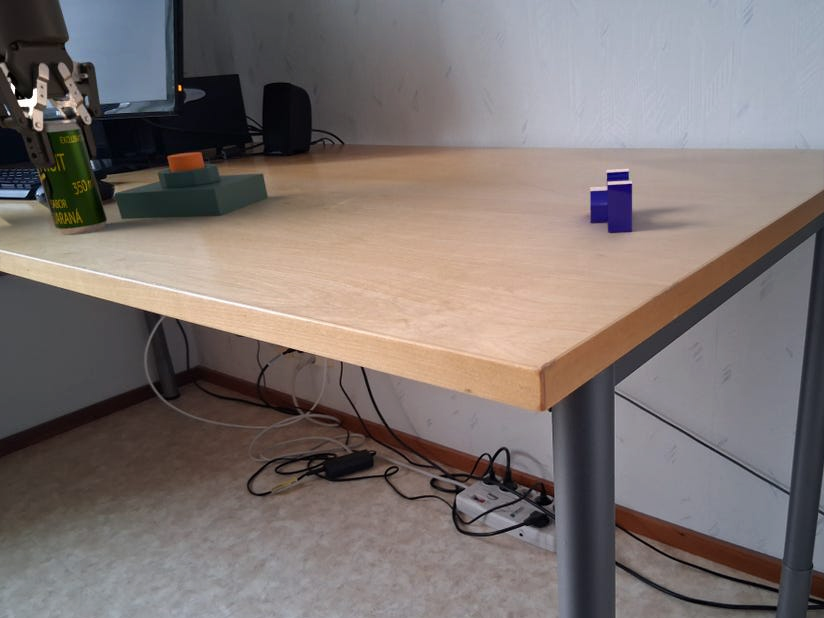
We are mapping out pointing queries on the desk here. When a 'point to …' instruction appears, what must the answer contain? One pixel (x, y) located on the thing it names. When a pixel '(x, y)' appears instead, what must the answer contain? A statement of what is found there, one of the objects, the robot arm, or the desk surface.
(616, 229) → the cable holder
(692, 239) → the desk surface
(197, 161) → the orange push button
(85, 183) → the soda can
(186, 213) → the button base
